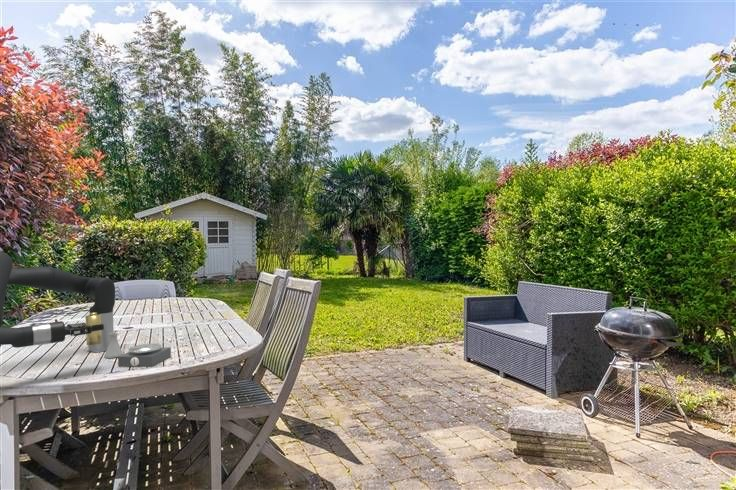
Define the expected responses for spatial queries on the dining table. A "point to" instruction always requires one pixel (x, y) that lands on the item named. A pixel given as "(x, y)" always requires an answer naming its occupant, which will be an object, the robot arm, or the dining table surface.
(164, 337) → the dining table surface
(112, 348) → the flask
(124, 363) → the base
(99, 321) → the brass weight
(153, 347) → the scale pan
